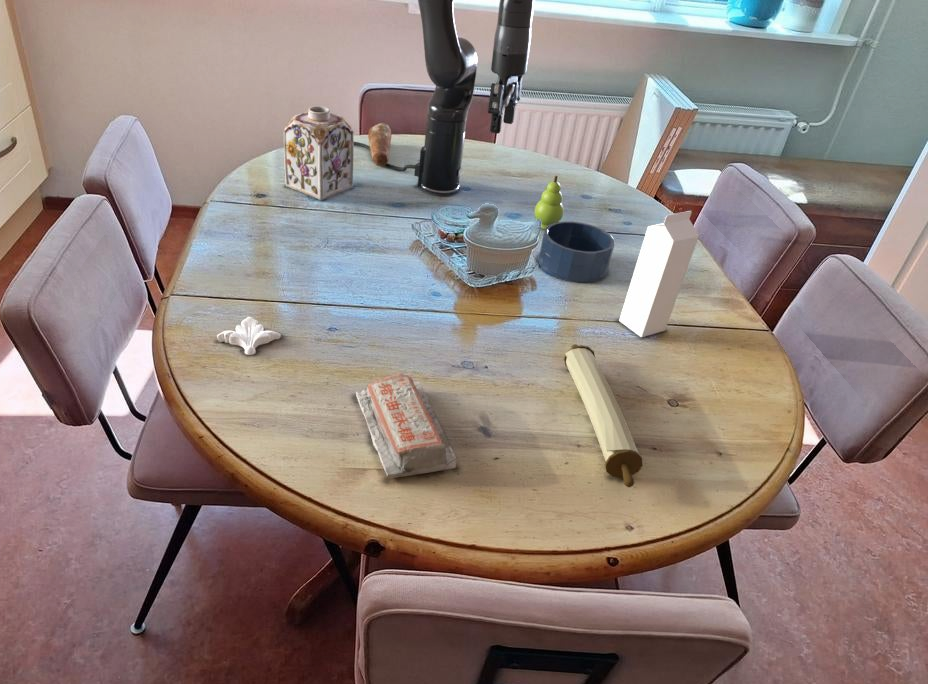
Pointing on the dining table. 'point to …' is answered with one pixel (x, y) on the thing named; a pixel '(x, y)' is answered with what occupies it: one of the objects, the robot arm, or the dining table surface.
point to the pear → (550, 205)
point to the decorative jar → (318, 153)
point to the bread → (380, 143)
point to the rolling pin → (604, 414)
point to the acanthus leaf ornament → (248, 335)
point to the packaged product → (404, 427)
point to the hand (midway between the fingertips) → (501, 127)
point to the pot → (576, 251)
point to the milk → (659, 274)
